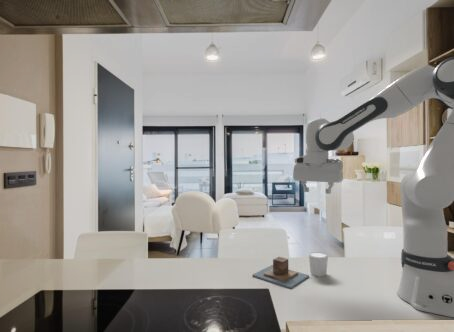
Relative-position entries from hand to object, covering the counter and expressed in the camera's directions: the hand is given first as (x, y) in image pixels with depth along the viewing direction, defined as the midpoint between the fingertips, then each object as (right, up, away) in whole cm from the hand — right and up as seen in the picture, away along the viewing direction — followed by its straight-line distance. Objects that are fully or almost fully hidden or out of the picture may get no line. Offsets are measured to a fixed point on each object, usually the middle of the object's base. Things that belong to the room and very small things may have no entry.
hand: (317, 192), depth 119 cm
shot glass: (-3, -30, -10) cm, 31 cm away
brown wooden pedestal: (-17, -29, -13) cm, 36 cm away
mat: (-17, -30, -13) cm, 37 cm away
